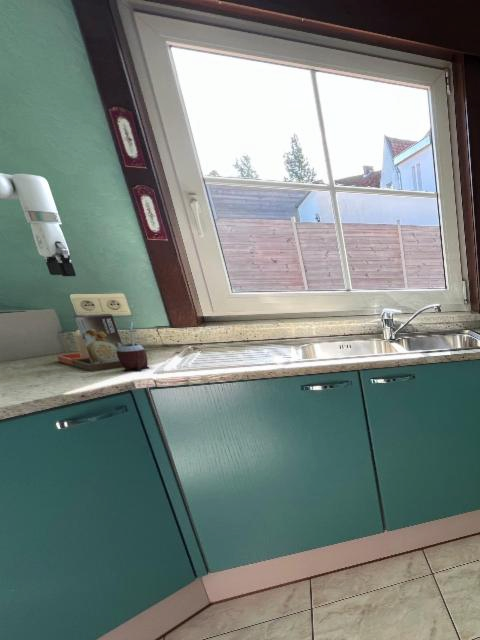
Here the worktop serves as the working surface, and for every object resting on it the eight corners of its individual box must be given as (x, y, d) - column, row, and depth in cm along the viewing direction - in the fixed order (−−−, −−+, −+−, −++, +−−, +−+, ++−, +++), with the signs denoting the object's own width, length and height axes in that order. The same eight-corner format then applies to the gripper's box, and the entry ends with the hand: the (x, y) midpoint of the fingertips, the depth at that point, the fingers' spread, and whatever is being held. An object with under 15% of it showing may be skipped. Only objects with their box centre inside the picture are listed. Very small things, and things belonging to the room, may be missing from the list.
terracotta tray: (72, 365, 164) (70, 359, 163) (59, 361, 169) (56, 355, 168) (126, 358, 176) (124, 353, 175) (112, 355, 181) (110, 349, 180)
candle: (106, 358, 173) (96, 329, 169) (84, 360, 169) (74, 331, 165) (100, 356, 176) (90, 328, 172) (79, 358, 171) (68, 329, 168)
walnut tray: (91, 371, 158) (89, 364, 157) (74, 366, 163) (72, 359, 163) (146, 364, 169) (144, 358, 169) (128, 359, 175) (126, 353, 174)
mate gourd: (126, 372, 157) (111, 325, 152) (118, 369, 161) (102, 322, 156) (155, 369, 163) (141, 323, 158) (146, 365, 167) (132, 320, 162)
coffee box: (127, 360, 171) (111, 313, 165) (129, 363, 167) (113, 315, 161) (90, 363, 165) (73, 314, 159) (92, 367, 161) (74, 316, 155)
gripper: (16, 217, 156) (37, 274, 163) (37, 217, 149) (58, 277, 155) (49, 219, 162) (68, 274, 169) (70, 219, 155) (89, 276, 161)
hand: (63, 275), depth 162 cm, fingers open, 9 cm apart
